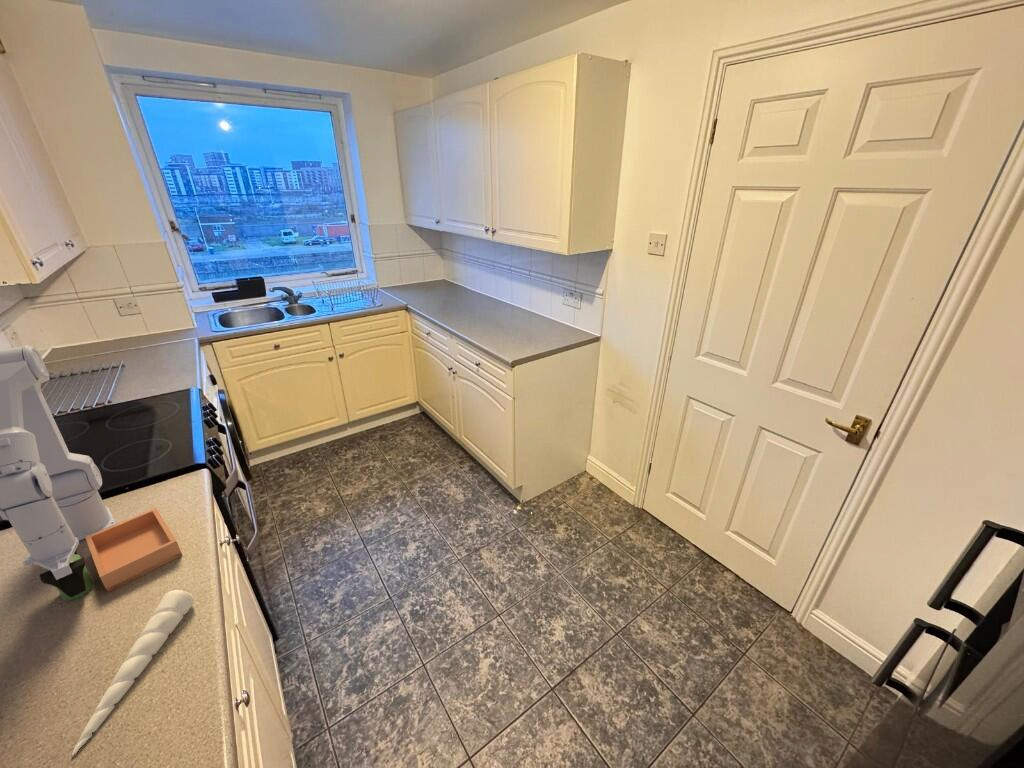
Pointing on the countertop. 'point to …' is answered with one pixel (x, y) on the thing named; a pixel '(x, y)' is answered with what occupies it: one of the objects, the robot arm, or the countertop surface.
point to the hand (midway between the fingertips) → (75, 584)
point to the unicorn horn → (140, 655)
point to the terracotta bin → (132, 548)
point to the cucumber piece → (87, 579)
